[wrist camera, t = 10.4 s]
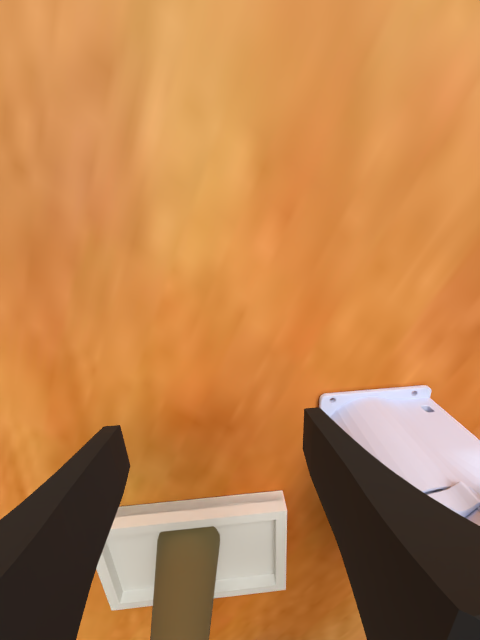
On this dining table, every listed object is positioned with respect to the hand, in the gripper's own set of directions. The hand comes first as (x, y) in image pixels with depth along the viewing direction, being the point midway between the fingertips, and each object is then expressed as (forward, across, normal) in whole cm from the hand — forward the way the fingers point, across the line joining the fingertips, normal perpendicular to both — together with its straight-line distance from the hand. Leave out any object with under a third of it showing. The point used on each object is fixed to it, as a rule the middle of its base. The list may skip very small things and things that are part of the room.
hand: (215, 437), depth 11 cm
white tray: (+10, +4, +23) cm, 25 cm away
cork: (+10, +4, +21) cm, 24 cm away
